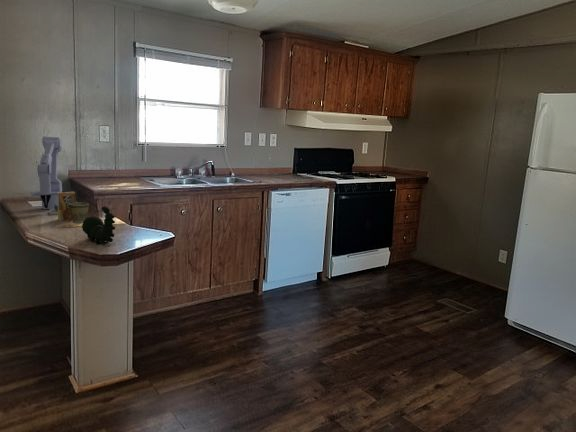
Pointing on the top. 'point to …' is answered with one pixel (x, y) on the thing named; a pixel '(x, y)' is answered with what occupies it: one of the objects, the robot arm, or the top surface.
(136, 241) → the top surface
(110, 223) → the toy figurine
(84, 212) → the ceramic cup
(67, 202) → the candy box
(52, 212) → the fader board
